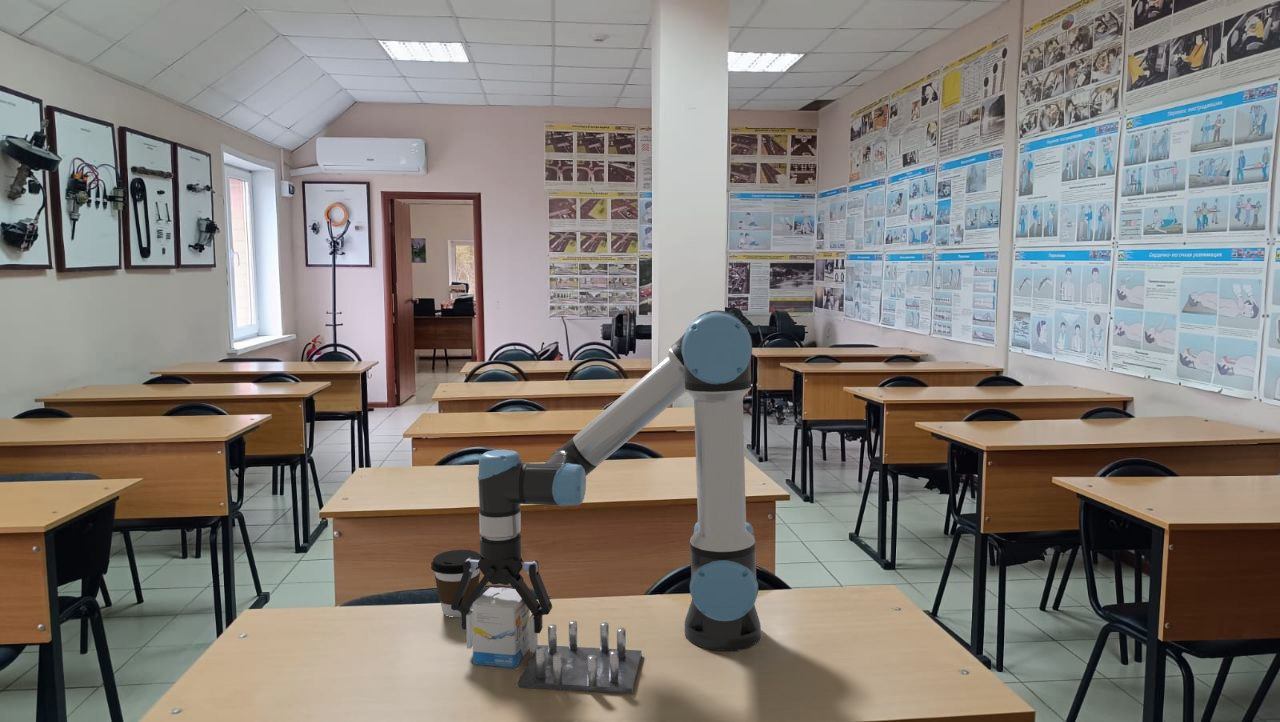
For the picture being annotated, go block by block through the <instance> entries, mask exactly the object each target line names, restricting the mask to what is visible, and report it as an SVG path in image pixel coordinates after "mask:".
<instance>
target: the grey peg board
mask: <svg viewBox="0 0 1280 722" xmlns="http://www.w3.org/2000/svg"><path fill="white" fill-rule="evenodd" d="M609 624H610V623H609V622H607V621H603V622H600V624H599V642H600V644H599V647H587V646H586V647H585V646H584V647H583V646H578V621H577V620H570V621H569V622H568V645H566V646H563V645H558V643H557V642H558V641H557V636H558V633H557V630H558V629H557V625H556V624H549V625H547V645H546V644H545V645H544V644H538V646H537V648H536V649H535V651H534V652H532V654H531V656H530V658H529V660H528V662H527V664H526V665H525V667H524V670H523V671H522V673H521V675H520V677H519V679H518V680H517V688H523V689H524V688H525V689H540V690H541V689H542V690H556V691H557V690H559V691H575V692H589V693H591V692H592V693H603V694H604V693H605V694H606V693H607V694H622V695H633V693H634V688H635V685H636V679H637V677H638V671H639V667H640V663H641V660H642V650H640V649H639V650H638V649H636V650H635V649H626V644H627V643H626V640H627V639H626V637H627V635H626V628H624V627H618V628H617V629H616V648H610V647H609V646H610V645H609V644H610V643H609V642H610V641H609V633H610V632H609V630H610V627H609Z"/></svg>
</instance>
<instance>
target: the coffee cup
mask: <svg viewBox="0 0 1280 722" xmlns="http://www.w3.org/2000/svg"><path fill="white" fill-rule="evenodd" d="M469 557H471V558H473V560H480V552H477V551H474V550H471V549H456V550H454V549H453V550H449V551H444V552H441V553H438V554H436V555H435V556H434V557H433V558H432V561H431V562H430V568H431V570H432V571H433V572H434V579H435V585H436V590H437V595H438V596H437V597H438V600H439V602H440V606H441V611H442V613H443V615H444V614H445V615H448V616H453V617H461V612H460V611H458V610H452V609H451V605H452V602H453V600H454V597H455V594H456V592H457V589H458V586H459V583H460V581H461V578H462V575H463V563H464V562H465V561H466V560H467V559H468V558H469ZM480 575H481V570H480V569H479V568H478V567H477V568H476V570H475V571H474V572H473V573H472V576H471V579H470V581H469V584H468V587H467V590H466V592H465V595H464V598H463V600H462V602H464V603H466V601H467V600H468V598H469V597H470V595H471V594H472V593H473V591H474V590H475V588H476V587H477V585H478V584H479V582H480V578H481V577H480ZM476 600H477V599H476ZM476 600H475V601H476ZM471 609H473V605H472V606H471V607H470V610H471ZM445 615H444V616H445Z"/></svg>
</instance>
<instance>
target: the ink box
mask: <svg viewBox="0 0 1280 722" xmlns="http://www.w3.org/2000/svg"><path fill="white" fill-rule="evenodd" d="M530 613H531V611H530V610H529V608H528V607H527V605H526V604H525V603H524V601H523V600H522V598H521V597H520V595H519V594H518V593H517V591H516V590H515V589H513V588H510V587H509V588H508V587H491V586H489V588H488V589H487V590H485V592H483V593H482V594H481V595H479V596H478V597H477V599H476V601H474V602H473V646H472V657H473V658H472V661H473V663H472V664H473V665H479V666H480V665H481V666H488V667H489V666H491V667H501V668H502V667H503V668H512V669H515V668H517V667H518V665H519V663H520V662H521V661H522V659H523V658H524V657H525V655H526V654H527V653H528V651H530V617H531V615H530Z"/></svg>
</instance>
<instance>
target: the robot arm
mask: <svg viewBox="0 0 1280 722" xmlns="http://www.w3.org/2000/svg"><path fill="white" fill-rule="evenodd" d="M752 341H753V340H752V337H751V334H750V332H749V330H748V328H747V327H746V325H745V324H744V323H743V322H742V321H741V320H740V318H738V317H737V316H736V315H734V314H733V313H731V312H729V311H725V310H710V311H707V312H704V313H701V314H700V315H699V316H697V317H696V318H695V319H694V320H693V321H692V322H690V324H689V325H688V327H687V328H686V330H685V332H684V333H683V335H681V336H680V338H678V340H677V341H676V342H674V344H672V345H671V346H670V347H669V348H668V356H666V357H665V358H664V359H663V360H661V361H660V362H659V363H658V364H657V365H655V366H654V368H652V369H650V371H649V372H647V373H646V374H645V375H644V376H643V377H642V378H640V379H639V380H638V381H636V383H634V385H632V386H631V387H629V389H628V390H626V391H625V392H624V393H623V394H622V395H621V396H620V397H618V398H617V399H616V400H615V401H613V402H612V404H610V405H609V406H608V407H607V408H605V409H604V410H603V411H602V412H600V414H599V415H598V416H595V418H593V420H592V421H590V422H589V423H588V424H587V425H586V426H584V427H583V428H582V429H581V430H580V431H578V432H577V433H576V434H575V435H574V436H573V437H572V438H570V439H569V440H568V441H566V442H565V443H564V445H562V446H560V447H558V449H557V450H555V451H554V452H553V453H552V455H551V456H550V457H549V458H547V461H546V462H545V463H543V462H542V463H541V462H540V463H538V462H537V463H536V462H535V463H532V462H531V463H530V462H522V461H521V459H520V457H521V456H520V454H519V452H517V451H515V450H509V449H495V450H493V449H492V450H488V451H485V452H483V454H481V455H480V457H479V459H478V476H477V480H478V501H479V502H478V504H479V505H478V506H479V508H478V509H479V510H478V511H479V513H478V514H479V515H478V516H479V519H478V520H479V534H480V535H481V536H480V537H479V554H480V560H473V558H471V557H469V558H468V559H467V560H466V561H465V562H464V563H463V575H462V578H461V581H460V583H459V586H458V589H457V592H456V594H455V597H454V600H453V602H452V605H451V609H452V610H458V611H460V612H461V629H462V630H466V649H468V650H469V649H470V650H471V649H473V609H471V610H470V607H471V606H472V605H473V602H474V601H475V600H477V599H478V598H479V597H480V596H481V595H480V594H481V593H482V592H483V590H484V589H485V587H486V586H487V585H488V583H491V585H498V584H499V585H503V586H509V585H510V586H511V587H512V589H515V590H516V591H517V593H518V594H519V595H520V597H521V598H522V600H523V601H524V603H525V604H526V605H527V607H528V608H529V610H530V613H531V615H530V649H529V652H530V653H533V652H534V651H535V649H536V648H537V646H538V645H539V644H538V634H541V631H542V630H543V626H544V625H543V616H545V615H546V616H547V615H549V614H550V612H551V611H552V609H553V605H552V602H551V599H550V597H549V594H548V592H547V588H546V586H545V584H544V581H543V580H542V576H541V574H540V572H539V566H540V565H539V561H538V560H537V559H534V560H532V561H524V560H523V558H522V537H521V536H522V535H521V534H520V532H521V529H522V528H521V526H522V525H521V523H522V521H521V513H522V512H521V505H534V506H535V505H536V506H537V505H538V506H541V505H542V506H559V507H566V506H567V507H568V506H570V507H571V506H579V505H581V504H583V502H584V499H585V495H586V490H587V489H586V487H587V476H588V475H589V474H590V473H591V472H593V471H594V470H595V469H596V468H597V467H598V466H599V465H601V463H603V462H604V461H606V459H608V458H610V456H611V455H612V454H614V452H616V451H617V450H619V449H620V448H621V447H622V446H623V445H624V444H625V443H627V442H629V440H630V439H632V438H633V437H635V435H637V433H639V432H640V431H641V430H642V429H643V428H645V427H646V426H647V425H648V424H649V423H651V422H652V421H653V420H654V419H655V418H657V417H658V416H659V415H660V414H661V413H663V412H664V411H665V410H666V409H668V408H669V407H670V406H671V405H672V404H674V402H676V401H678V399H680V398H681V397H682V396H683V395H684V394H686V393H687V394H689V395H690V396H691V397H692V399H693V408H694V410H693V412H694V434H695V435H694V440H695V443H694V444H695V466H696V467H695V472H696V473H695V474H696V500H697V502H696V503H697V507H696V508H697V522H696V523H695V525H694V528H693V533H692V536H691V537H690V540H689V543H690V545H689V546H690V570H691V571H690V575H691V576H690V582H689V593H690V596H691V601H690V604H689V607H688V610H687V613H686V616H685V619H684V636H685V637H686V639H687V640H688V641H689V642H691V643H692V644H695V645H696V646H699V647H701V648H704V649H709V650H713V651H714V650H715V651H723V652H724V651H725V652H726V651H737V650H739V651H740V650H743V649H748V648H750V647H752V646H754V645H755V644H757V643H758V642H759V641H760V640H761V637H762V636H761V634H762V632H761V629H762V628H761V627H762V626H761V621H760V618H759V615H758V611H757V608H756V604H755V603H756V601H757V597H758V594H759V583H758V581H757V565H756V564H757V562H756V560H757V559H756V538H755V535H754V528H753V526H752V524H751V523H749V522H747V510H746V509H747V508H746V507H747V506H746V504H747V503H746V475H745V474H746V472H745V471H746V470H745V469H746V468H745V467H746V466H745V440H744V439H745V434H744V433H745V432H744V431H745V430H744V403H743V402H744V397H745V396H746V394H748V392H750V390H751V389H752V370H751V369H752V367H751V365H752V364H751V359H752V358H751V356H752V353H753V342H752ZM477 567H478V568H479V569H480V573H481V574H483V577H482V578H481V580H479V584H478V585H477V587H476V588H475V590H474V591H473V593H472V594H471V595H470V597H469V598H468V600H467V601H466V603H464V602H462V600H463V598H464V595H465V592H466V590H467V587H468V584H469V581H470V579H471V576H472V573H473V572H474V571H475V570H476V568H477ZM522 570H524V571H525V573H526V574H527V575H528V576H529V580H530V583H531V586H532V589H533V591H534V593H535V595H534V594H533V592H532V591H531V589H530V588H529V587H528V585H527V584H526V582H525V581H524V577H523V576H522V574H521V571H522Z"/></svg>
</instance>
